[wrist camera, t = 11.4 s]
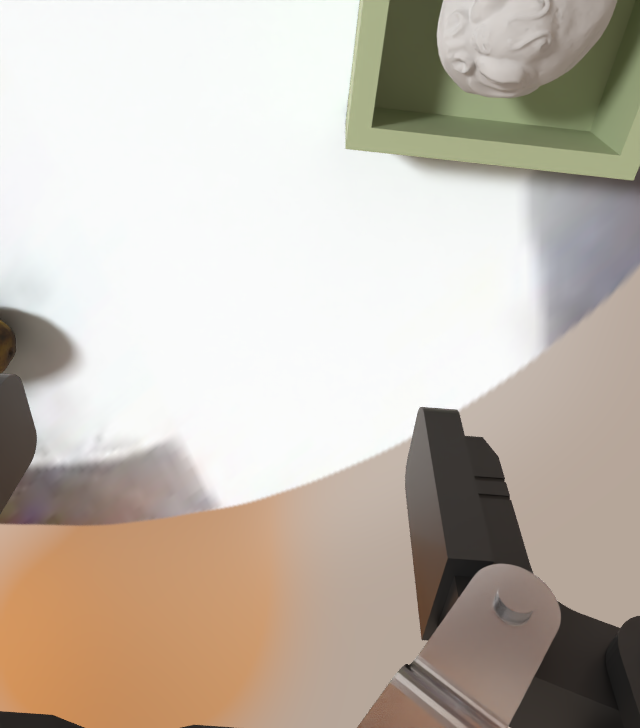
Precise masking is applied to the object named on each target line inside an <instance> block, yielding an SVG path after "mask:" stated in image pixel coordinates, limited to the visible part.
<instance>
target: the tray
mask: <svg viewBox="0 0 640 728" xmlns="http://www.w3.org/2000/svg"><path fill="white" fill-rule="evenodd" d="M442 3H443V0H360V4H359V12H358V21H357V29H356V38H355V46H354V55H353V63H352V72H351V80H350V89H349V97H348V106H347V114H346V149H352V150H361V151H370V152H379V153H388V154H397V155H406V156H415V157H425V158H434V159H443V160H452V161H461V162H470V163H479V164H488V165H497V166H506V167H515V168H524V169H533V170H542V171H551V172H560V173H569V174H579V175H588V176H597V177H606V178H615V179H624V180H633V181H634V178H635V176H636V173H637V171H638V168H639V166H640V0H617V3H616V6H615V9H614V12H613V15H612V17H611V19H610V22H609V24H608V26H607V27H606V29H605V31H604V32H603V34H602V36H601V37H600V39H599V40H598V41H597V42H596V43H595V45H594V46H593V47H592V48H591V49H590V50H589V52H588V53H587V54H586V55H585V56H584V57H583V58H582V59H581V60H580V61H579V62H578V63H577V64H576V65H575V66H574V67H573V68H572V69H571V70H569V71H568V72H567V73H565V74H563V75H562V76H560V77H558V78H557V79H555V80H553V81H551V82H549V83H546V84H544V85H541V86H540V87H539V88H538V89H536V90H535V91H533V92H531V93H530V94H527V95H524V96H520V97H515V98H492V97H485V96H481V95H479V94H473V93H467V92H465V91H463V90H462V89H461V88H460V87H459V86H458V85H457V84H456V83H455V82H454V81H453V80H452V78H451V77H450V76H449V75H448V73H447V72H446V71H445V69H444V67H443V65H442V63H441V60H440V57H439V51H438V46H437V28H438V21H439V16H440V12H441V7H442Z"/></svg>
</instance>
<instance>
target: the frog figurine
mask: <svg viewBox="0 0 640 728" xmlns="http://www.w3.org/2000/svg"><path fill="white" fill-rule="evenodd" d="M616 3H617V0H443V3H442V7H441V12H440V16H439V21H438V28H437V46H438V51H439V57H440V60H441V63H442V65H443V67H444V69H445V71H446V72H447V73H448V75H449V76H450V77H451V78H452V80H453V81H454V82H455V83H456V84H457V85H458V86H459V87H460V88H461V89H462V90H463V91H465V92H467V93H473V94H479V95H481V96H485V97H492V98H515V97H520V96H524V95H527V94H530V93H531V92H533V91H535V90H536V89H538V88H539V87H540V86H541V85H544V84H546V83H549V82H551V81H553V80H555V79H557V78H558V77H560V76H562V75H563V74H565V73H567V72H568V71H569V70H571V69H572V68H573V67H574V66H575V65H576V64H577V63H578V62H579V61H580V60H581V59H582V58H583V57H584V56H585V55H586V54H587V53H588V52H589V50H590V49H591V48H592V47H593V46H594V45H595V43H596V42H597V41H598V40H599V39H600V37H601V36H602V34H603V32H604V31H605V29H606V27H607V26H608V24H609V22H610V19H611V17H612V15H613V12H614V9H615V6H616Z"/></svg>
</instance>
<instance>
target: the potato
mask: <svg viewBox="0 0 640 728" xmlns="http://www.w3.org/2000/svg"><path fill="white" fill-rule="evenodd" d="M15 352H16V338H15V335H14V332H13V331H12V330H11V328H10V327H9V326H8V325H7V324H6V323H4V322H3V321H1V320H0V373H2V372H3V371H4V370H5V369H6V368H7V366H8V365H9V363H10V361H11V360H12V359H13V357H14V354H15Z"/></svg>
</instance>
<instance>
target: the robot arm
mask: <svg viewBox="0 0 640 728" xmlns="http://www.w3.org/2000/svg"><path fill="white" fill-rule="evenodd" d="M36 443H37V435H36V429H35V426H34V422H33V419H32V415H31V412H30V408H29V405H28V401H27V398H26V394H25V391H24V387H23V384H22V381H21V379H20V378H19V377H18V376H17V375H14V374H1V373H0V514H1V512H2V510H3V509H4V507H5V505H6V504H7V502H8V500H9V499H10V497H11V495H12V494H13V492H14V490H15V489H16V487H17V485H18V483H19V482H20V480H21V478H22V477H23V475H24V473H25V472H26V470H27V468H28V467H29V465H30V463H31V461H32V459H33V457H34V454H35V450H36ZM504 479H505V478H504V475H503V471H502V468H501V464H500V461H499V457H498V456H497V455H496V453H495V452H494V451H493V450H492V448H491V447H490V446H489V445H488V443H486V441H485V440H484V439H483V437H472V436H471V437H470V436H465V435H464V431H463V427H462V423H461V418H460V415H459V412H458V410H454V409H441V408H428V407H420V408H419V410H418V414H417V418H416V422H415V427H414V432H413V436H412V441H411V446H410V450H409V454H408V459H407V465H406V475H405V488H406V489H405V490H406V499H407V509H408V518H409V527H410V537H411V546H412V555H413V565H414V574H415V583H416V592H417V601H418V611H419V619H420V629H421V638H422V640H428V642H427V643H426V645H425V646H424V648H423V649H422V650H421V652H420V653H419V655H418V656H417V657H416V659H415V660H414V661H413V662H412V663H411V664H410V665H408V664H405V665H404V666H403V667H402V668H401V669H400V670H399V671H398V672H397V673H396V675H395V676H394V677H393V678H392V680H391V681H390V683H389V684H388V686H387V687H386V688H385V690H384V691H383V692H382V694H381V695H380V696H379V698H378V699H377V700H376V702H375V703H374V705H373V706H372V707H371V709H370V710H369V712H368V713H367V714H366V716H365V717H364V718H363V720H362V721H361V723H360V724H359V725H358V727H357V728H508V726H509V727H511V728H640V616H636V617H633V618H631V619H629V620H628V621H626V622H625V623H624V624H623V625H622V627H621V628H618V627H616V626H613V625H610V624H607V623H604V622H602V621H599V620H597V619H594V618H591V617H588V616H586V615H583V614H580V613H578V612H576V611H573V610H571V609H569V608H567V607H566V606H564V605H562V604H561V603H560V602H558V601H557V600H556V597H555V596H554V594H553V593H552V591H551V589H550V588H549V587H548V586H547V585H546V584H545V583H544V582H543V581H542V580H541V579H540V578H539V577H537V576H536V575H534V574H533V571H532V569H531V566H530V563H529V559H528V556H527V553H526V549H525V546H524V542H523V539H522V536H521V532H520V529H519V525H518V522H517V519H516V515H515V512H514V509H513V505H512V502H511V500H510V495H509V491H508V488H507V484H506V483H505V482H504ZM0 728H84V727H81V726H79V725H77V724H74V723H71V722H69V721H66V720H64V719H61V718H59V717H56V716H54V715H45V714H30V713H15V712H2V711H0ZM182 728H231V727H217V726H203V725H192V726H187V727H182Z"/></svg>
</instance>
